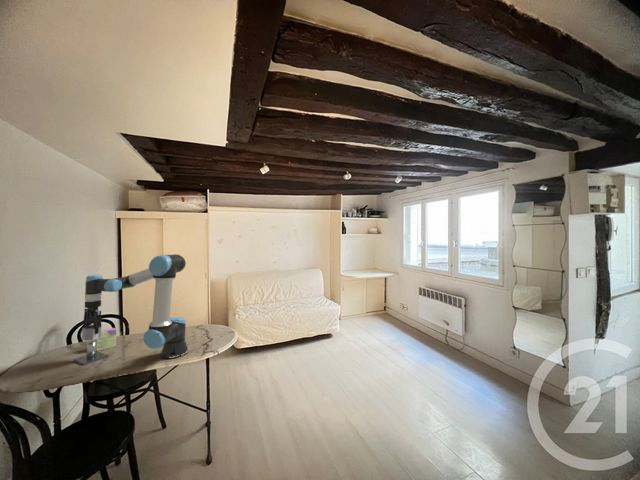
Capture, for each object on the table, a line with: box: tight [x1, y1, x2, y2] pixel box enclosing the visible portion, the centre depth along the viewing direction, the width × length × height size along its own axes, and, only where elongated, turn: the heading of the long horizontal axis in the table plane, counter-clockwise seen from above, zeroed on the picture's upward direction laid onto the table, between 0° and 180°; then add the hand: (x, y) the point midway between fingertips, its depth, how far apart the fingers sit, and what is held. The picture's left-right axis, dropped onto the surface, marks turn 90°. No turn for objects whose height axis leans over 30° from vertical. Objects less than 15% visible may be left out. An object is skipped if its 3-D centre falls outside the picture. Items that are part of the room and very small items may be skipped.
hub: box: [81, 324, 102, 342], centre depth 153 cm, size 8×8×7 cm
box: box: [94, 327, 118, 352], centre depth 170 cm, size 10×6×12 cm, turn 145°
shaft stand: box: [72, 340, 109, 366], centre depth 153 cm, size 12×12×10 cm
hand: (91, 337), depth 153 cm, fingers closed on hub, 8 cm apart
